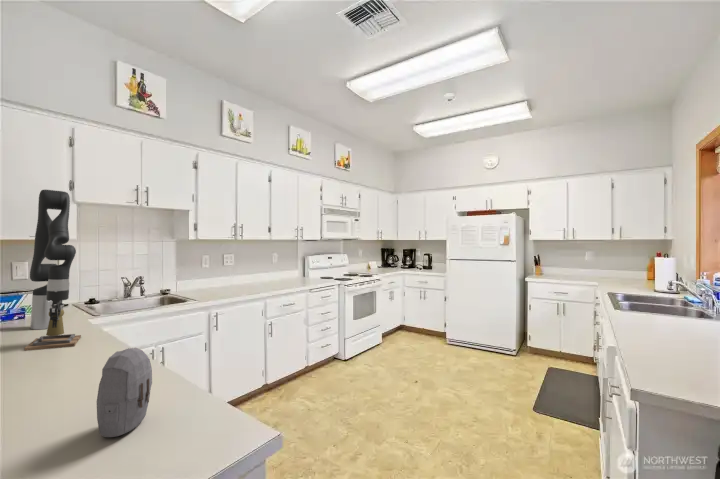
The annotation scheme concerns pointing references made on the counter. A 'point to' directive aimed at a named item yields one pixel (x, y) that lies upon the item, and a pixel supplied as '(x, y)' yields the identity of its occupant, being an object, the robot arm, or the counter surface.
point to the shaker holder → (53, 342)
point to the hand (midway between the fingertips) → (55, 327)
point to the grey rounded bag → (123, 392)
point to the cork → (60, 328)
